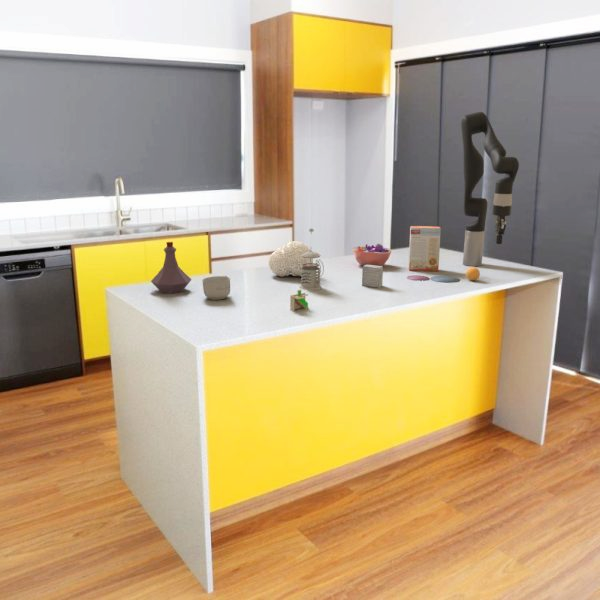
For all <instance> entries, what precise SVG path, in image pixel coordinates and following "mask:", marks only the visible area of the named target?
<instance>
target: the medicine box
mask: <svg viewBox="0 0 600 600" xmlns="http://www.w3.org/2000/svg"><path fill="white" fill-rule="evenodd" d="M361 273H362V276H361V279H362V280H361V286H362V287H371V288H381V287H382V286H383V274H384V265H381V266H375V265H362V272H361Z"/></svg>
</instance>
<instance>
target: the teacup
mask: <svg viewBox="0 0 600 600" xmlns="http://www.w3.org/2000/svg"><path fill="white" fill-rule="evenodd" d="M202 288H203V289H202V290H203V294H204V295H205V297H207V298H208V299H209V300H212V301H217V300H218V301H219V300H224V299H226V298H227V297H228V296H229V295H230V294H231V277H229V276H228V275H216V276H215V275H214V276H208V277H204V278H203V279H202Z"/></svg>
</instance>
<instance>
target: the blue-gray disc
mask: <svg viewBox="0 0 600 600" xmlns="http://www.w3.org/2000/svg"><path fill="white" fill-rule="evenodd" d="M429 280H431V281H433V282H438V283H446V284H447V283H459V282H460V280H461V279H460V278H459V277H455V276H451V275H434V276H433V275H432V276H431V277H429Z"/></svg>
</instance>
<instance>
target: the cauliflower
mask: <svg viewBox="0 0 600 600" xmlns="http://www.w3.org/2000/svg"><path fill="white" fill-rule="evenodd" d="M310 251H311V248H309V246H308V245H306V244H305V243H304V242H300V241H297V240H296V241H295V240H293V241H290V242H288V243H285V245H283V246H282V249H281V248H279V247H278V248H277V249H275V250H274V251H273V252H272V253H271V254H270V256H269V258H268V266H269V269H270V271H271V272H272V273H273V274H274V275H276V276H278V277H282V278H283V277H288V276H290V274H291V276H292V277H301V275H302V274H301V268H302V267H304V266H303V264H305V263H314V258H304V257H302V256H301V255H302V254H304V253H305V252H310Z"/></svg>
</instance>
